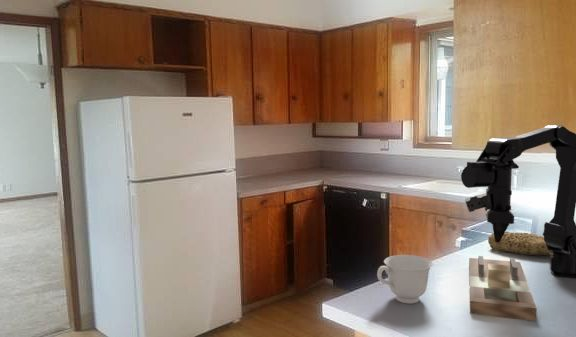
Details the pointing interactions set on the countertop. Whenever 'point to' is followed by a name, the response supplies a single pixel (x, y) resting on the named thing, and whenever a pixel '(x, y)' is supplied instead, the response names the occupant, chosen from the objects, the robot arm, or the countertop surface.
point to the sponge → (520, 243)
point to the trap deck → (500, 291)
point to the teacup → (406, 276)
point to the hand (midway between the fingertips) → (497, 242)
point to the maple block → (498, 276)
